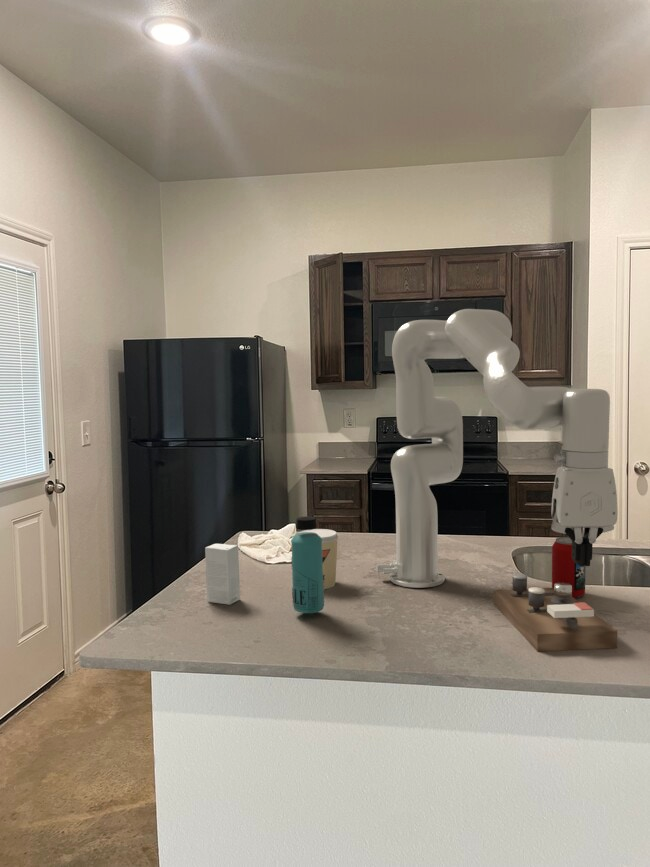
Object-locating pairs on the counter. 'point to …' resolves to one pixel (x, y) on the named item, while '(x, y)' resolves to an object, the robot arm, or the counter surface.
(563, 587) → the button
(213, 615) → the counter surface
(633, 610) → the counter surface
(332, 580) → the coffee cup
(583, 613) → the block
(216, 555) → the skincare box
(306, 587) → the beverage bottle
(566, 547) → the beverage can
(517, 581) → the lever grey
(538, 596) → the lever ivory
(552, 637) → the console
